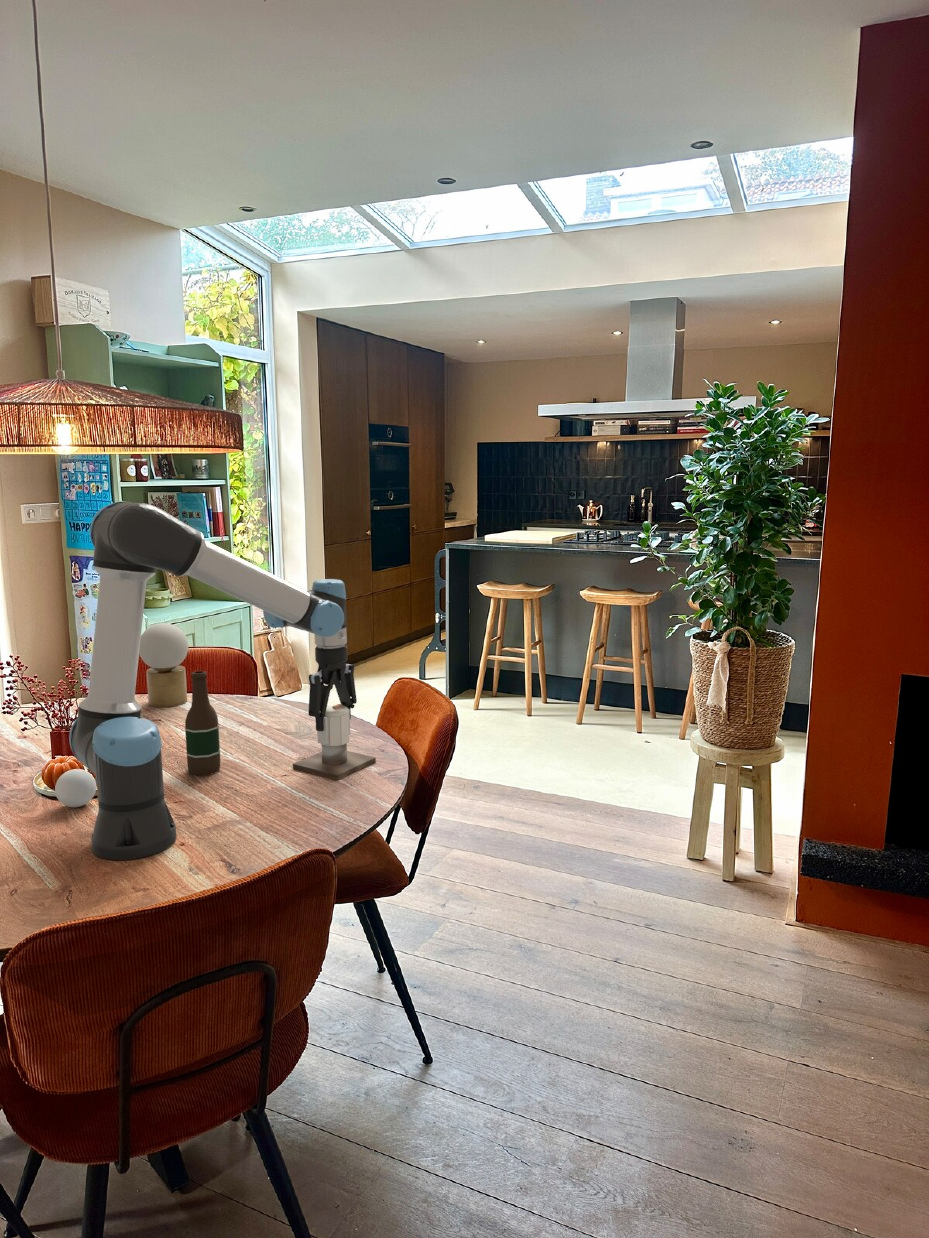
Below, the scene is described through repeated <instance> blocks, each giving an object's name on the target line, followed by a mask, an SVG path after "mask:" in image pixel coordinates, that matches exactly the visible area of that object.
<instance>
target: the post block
mask: <svg viewBox="0 0 929 1238" xmlns="http://www.w3.org/2000/svg"><path fill="white" fill-rule="evenodd" d="M320 745H321V751H320V752H317V753H315V754H313V755H311V756H308V757H306V758H303V759H301V760H298V761H296V762H293V763H292V769H293V770H298V771H302V772H305V773H309V774H313V775H317V776H321V777H325V778H329V779H333V780H336V781H338V780H341V779H343V778H345V777H347V776H349V775H351V774H353V773H355V772H358V771H359V770H362V769H365V768H366V767H368V766H371V765H373V764H375V763H376V762H377V761H376V760H377V757H375V756H371V755H366V754H363V753H362V754H361V753H359V752H358V753H357V752H353V751H349V750H348V746H347V745H348V743H346V744H344V745H340V746H326V745H322V744H320ZM342 777H343V778H342Z"/></svg>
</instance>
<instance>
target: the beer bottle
mask: <svg viewBox="0 0 929 1238" xmlns="http://www.w3.org/2000/svg"><path fill="white" fill-rule="evenodd" d="M207 676H208V674H207V671H204V670H195V671H193V672H191V674H190V679H191V681H192V682H191V688H192V689H191V692H192V693H191V697H192V698H191V707H190V708H189V709H188V712H187V715H186V718H185V724H184V726H185V727H184V732H185V743H186V744H185V747H186V763H187V764H186V765H187V773H188V774H190V775H192V776H193V775H194V776H210V775H213V774H216V773H218V772H220V768H221V747H220V727H219V717H218V714H217V712H216V710H215V708H214V707H213V706H212V705H211V703H210V699H209V691H208V683H207Z"/></svg>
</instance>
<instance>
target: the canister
mask: <svg viewBox="0 0 929 1238" xmlns="http://www.w3.org/2000/svg"><path fill="white" fill-rule="evenodd" d="M320 713H321V711H320ZM325 717H328V744H327V745H326V744H322V745H326V746H340V745H344V744H346V743H347V744H348V743H349V742H350V735H349V716H348V708H347V707H345V706H342V704H341V703H338V704H332V705H327V708H326V713H325ZM319 744H320V745H321V743H319Z"/></svg>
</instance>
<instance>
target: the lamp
mask: <svg viewBox="0 0 929 1238" xmlns="http://www.w3.org/2000/svg"><path fill="white" fill-rule="evenodd" d="M188 652H189V641H188V637H187V636H186V634H185V633H184V631H183V630H182V629H181V628H179V626H176V625H174V624H172V623H167V622H165V623H164V622H161V623H156V624H153V625H150V626H149V627H148V628H146V630H144V631H143V632H142V633H141V640H140V650H139V657H140V658H141V660H142V662H143V663H144V664H145V665H146V666H148V667H150V668H147V669H146V671H145V673H146V684H147V685H146V686H147V687H146V688H147V699H148V700H147V701H148V705H149V706H151V707H155V708H171V707H176V706H180V705H183V704H186V703H187V702H188V693H187V692H188V690H187V674H186V673H187V672H186V667H185V666H183V665H180V664H182V663H183V662H184V660H185V659H186V657H187V655H188Z"/></svg>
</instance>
